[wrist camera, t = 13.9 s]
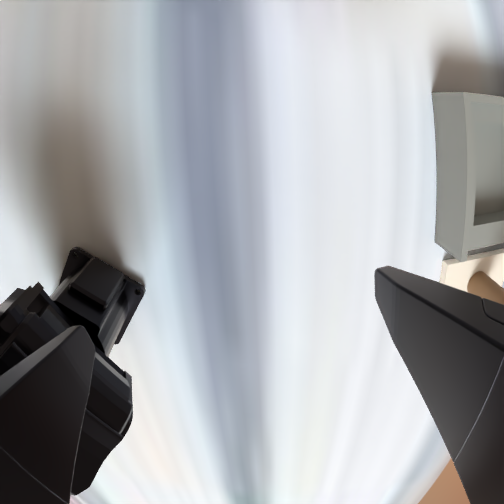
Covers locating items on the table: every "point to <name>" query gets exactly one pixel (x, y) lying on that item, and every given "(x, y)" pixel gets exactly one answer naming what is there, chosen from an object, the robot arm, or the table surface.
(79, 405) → the robot arm
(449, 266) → the cover plate
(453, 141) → the box
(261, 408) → the table surface
